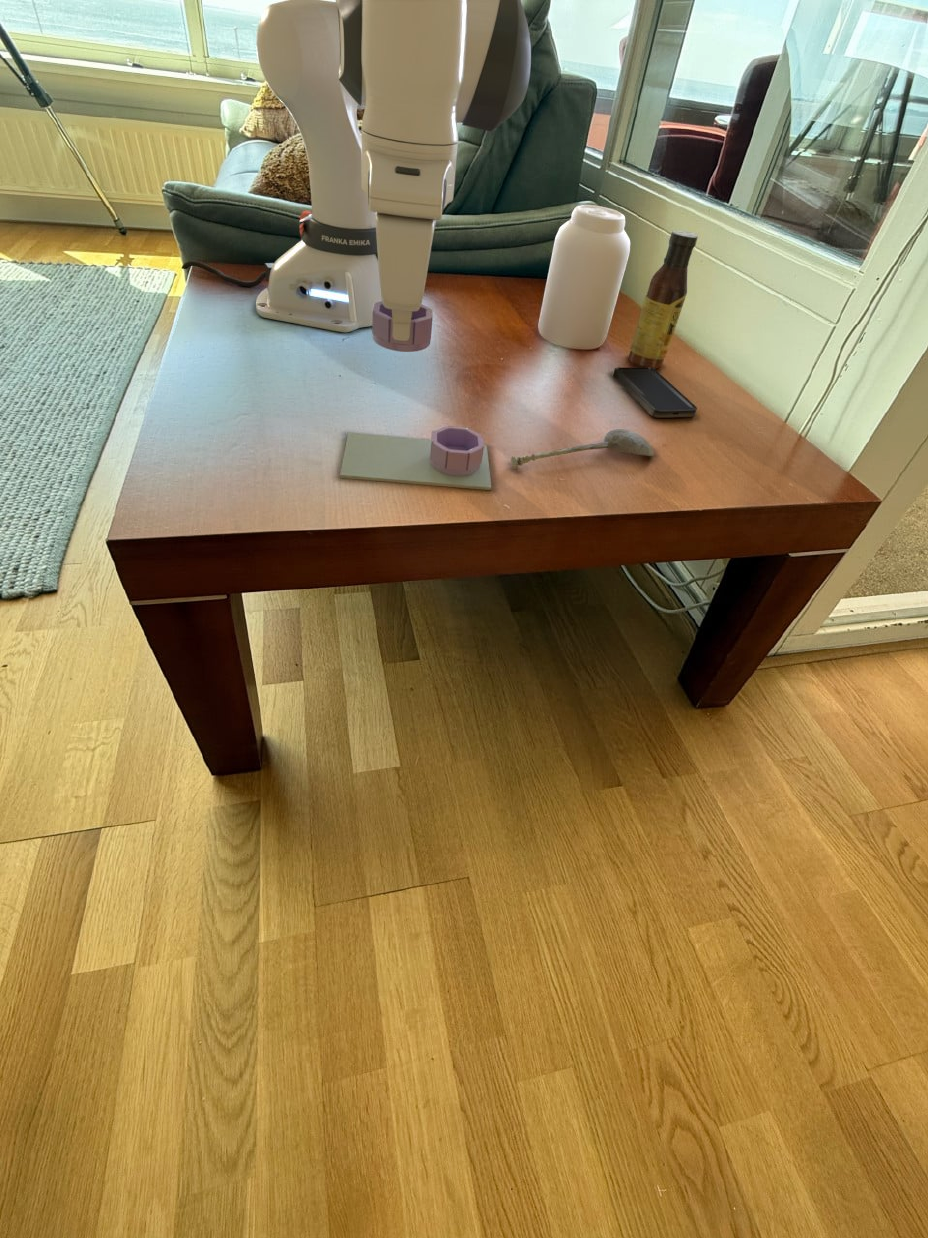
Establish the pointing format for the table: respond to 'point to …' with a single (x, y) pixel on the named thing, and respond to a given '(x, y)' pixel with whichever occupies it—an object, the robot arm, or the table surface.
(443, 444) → the dish right
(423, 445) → the mat
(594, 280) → the white pill bottle
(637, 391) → the phone
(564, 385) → the table surface
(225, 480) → the table surface
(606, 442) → the soupspoon
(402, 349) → the dish left
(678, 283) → the sauce bottle
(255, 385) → the table surface
